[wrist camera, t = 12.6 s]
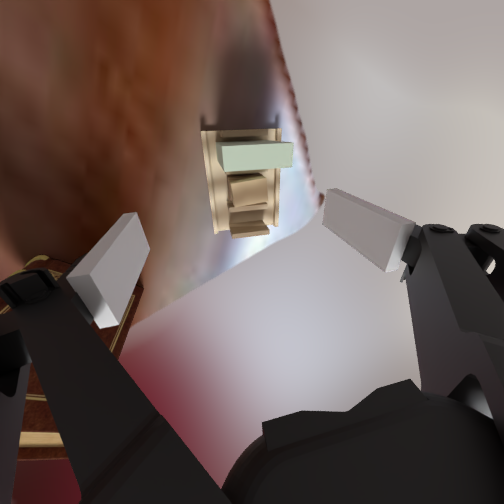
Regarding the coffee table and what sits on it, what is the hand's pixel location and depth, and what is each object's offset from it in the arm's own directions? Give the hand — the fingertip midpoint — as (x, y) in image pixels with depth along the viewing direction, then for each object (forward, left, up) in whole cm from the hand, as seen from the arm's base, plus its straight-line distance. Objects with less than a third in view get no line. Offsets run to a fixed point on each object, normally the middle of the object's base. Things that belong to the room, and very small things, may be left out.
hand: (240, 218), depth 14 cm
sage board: (-2, +6, -31) cm, 32 cm away
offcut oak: (+5, +6, -28) cm, 29 cm away
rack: (+4, +6, -32) cm, 33 cm away
